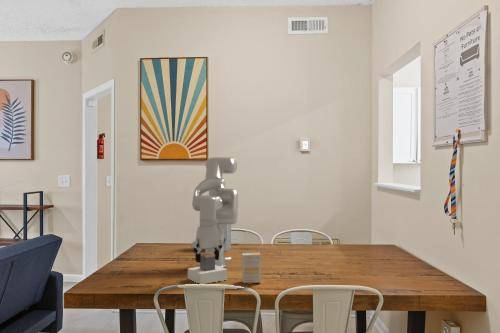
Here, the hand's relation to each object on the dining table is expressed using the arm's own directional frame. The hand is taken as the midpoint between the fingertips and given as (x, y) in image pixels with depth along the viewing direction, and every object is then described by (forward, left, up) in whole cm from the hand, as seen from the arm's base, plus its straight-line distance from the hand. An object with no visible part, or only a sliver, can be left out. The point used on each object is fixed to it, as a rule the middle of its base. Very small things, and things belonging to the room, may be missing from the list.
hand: (207, 260), depth 186 cm
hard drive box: (-41, -58, -9) cm, 71 cm away
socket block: (0, -1, -9) cm, 9 cm away
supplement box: (-14, +14, -9) cm, 22 cm away
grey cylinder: (0, -1, -9) cm, 9 cm away
